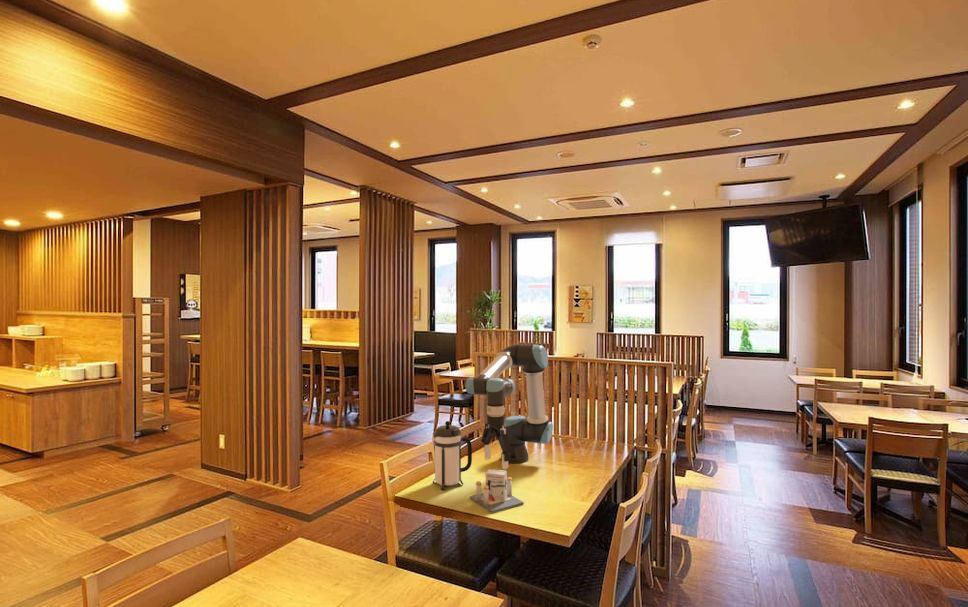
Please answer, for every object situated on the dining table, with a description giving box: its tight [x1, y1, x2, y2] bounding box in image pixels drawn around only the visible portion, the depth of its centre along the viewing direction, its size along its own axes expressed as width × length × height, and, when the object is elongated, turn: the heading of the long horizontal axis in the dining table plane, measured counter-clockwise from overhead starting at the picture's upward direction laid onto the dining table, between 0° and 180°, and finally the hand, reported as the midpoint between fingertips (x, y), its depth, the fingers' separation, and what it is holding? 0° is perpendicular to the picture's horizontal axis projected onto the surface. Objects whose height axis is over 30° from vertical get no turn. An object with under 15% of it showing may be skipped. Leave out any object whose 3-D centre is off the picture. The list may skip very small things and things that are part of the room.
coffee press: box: [432, 420, 473, 491], centre depth 231 cm, size 17×16×30 cm
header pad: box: [469, 476, 525, 514], centre depth 210 cm, size 18×16×9 cm
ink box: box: [485, 468, 508, 502], centre depth 210 cm, size 8×5×12 cm, turn 74°
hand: (496, 463), depth 211 cm, fingers open, 13 cm apart
